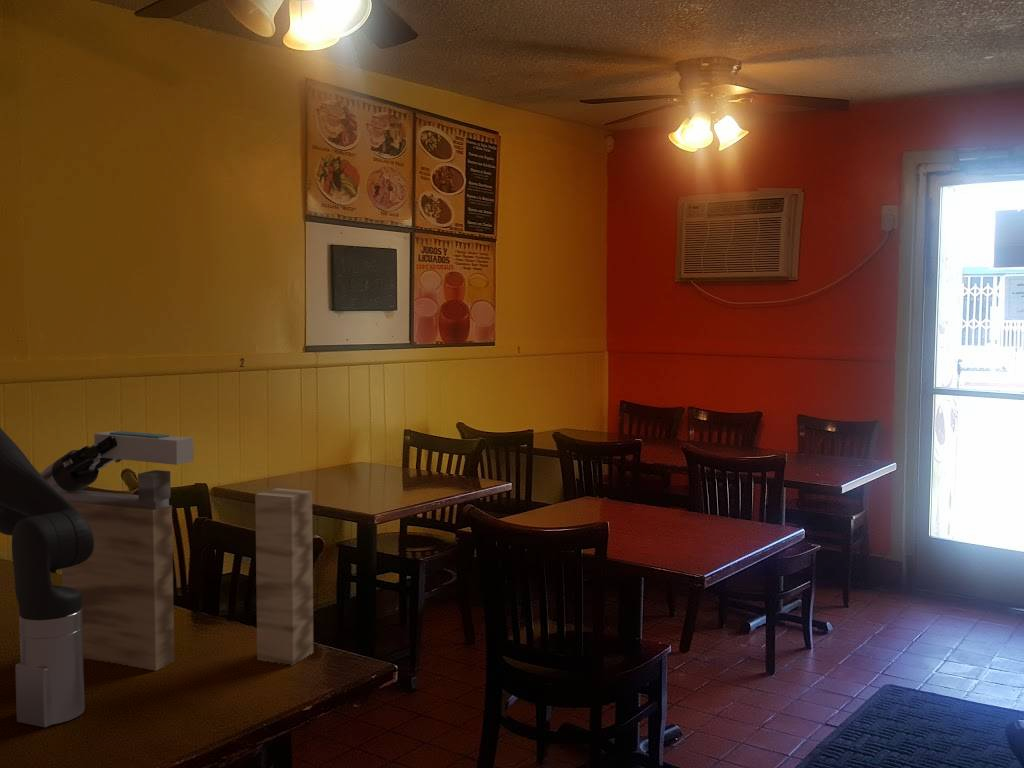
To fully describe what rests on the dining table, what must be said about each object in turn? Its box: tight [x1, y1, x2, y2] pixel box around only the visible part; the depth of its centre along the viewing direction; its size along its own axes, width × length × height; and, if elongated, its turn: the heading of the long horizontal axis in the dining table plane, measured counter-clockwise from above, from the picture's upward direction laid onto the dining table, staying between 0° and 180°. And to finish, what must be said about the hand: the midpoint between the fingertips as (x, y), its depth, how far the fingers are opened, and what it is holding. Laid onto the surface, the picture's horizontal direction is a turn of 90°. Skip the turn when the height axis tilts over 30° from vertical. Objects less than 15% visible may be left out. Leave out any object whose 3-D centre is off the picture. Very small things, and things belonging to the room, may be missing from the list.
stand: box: [254, 487, 314, 666], centre depth 180 cm, size 7×8×32 cm
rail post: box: [61, 469, 175, 671], centre depth 178 cm, size 5×22×36 cm, turn 70°
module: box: [93, 430, 195, 466], centre depth 179 cm, size 20×4×5 cm, turn 68°
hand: (124, 438), depth 181 cm, fingers closed on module, 4 cm apart
